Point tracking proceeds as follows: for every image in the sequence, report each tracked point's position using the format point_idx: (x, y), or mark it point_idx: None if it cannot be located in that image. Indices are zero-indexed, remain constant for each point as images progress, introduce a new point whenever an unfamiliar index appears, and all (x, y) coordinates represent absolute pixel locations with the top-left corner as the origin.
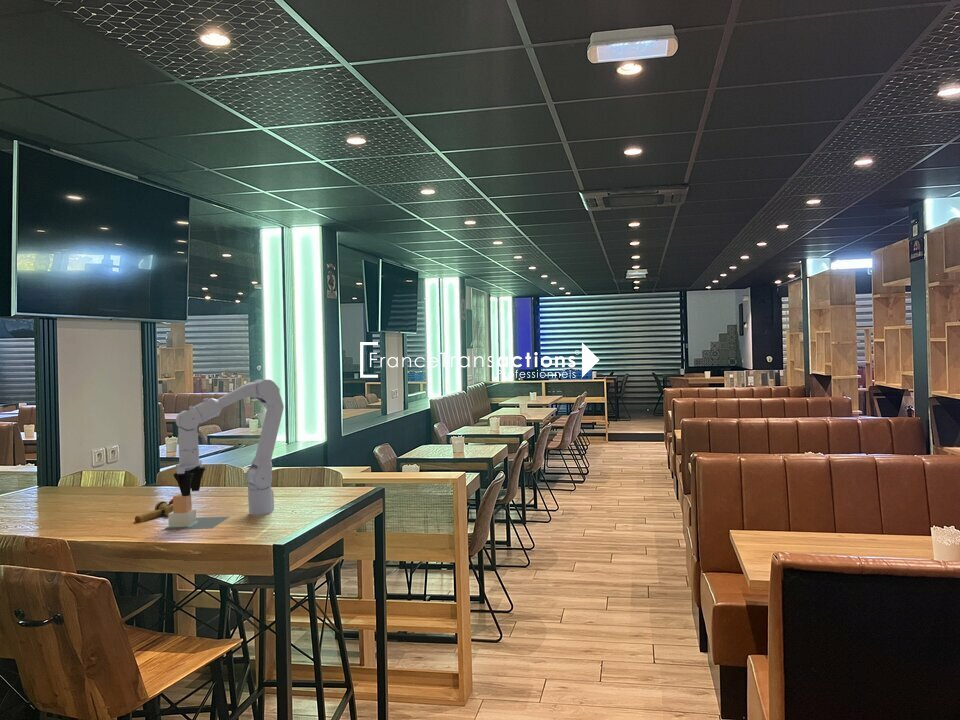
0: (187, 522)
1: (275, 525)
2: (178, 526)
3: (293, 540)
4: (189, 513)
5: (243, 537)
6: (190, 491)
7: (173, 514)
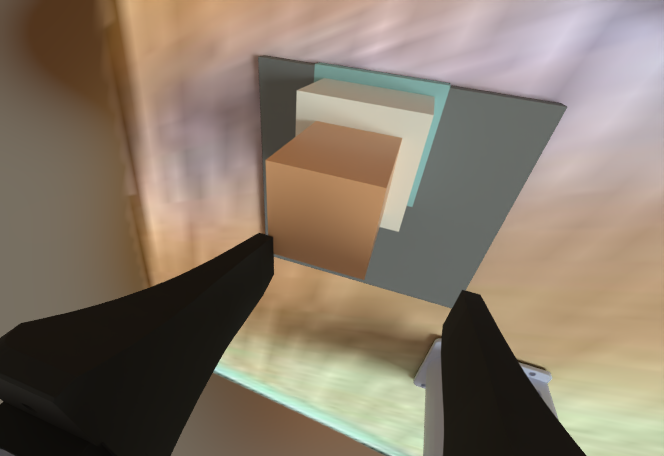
0: None
1: (307, 366)
2: None
3: None
4: None
5: None
6: (259, 299)
7: (297, 124)
